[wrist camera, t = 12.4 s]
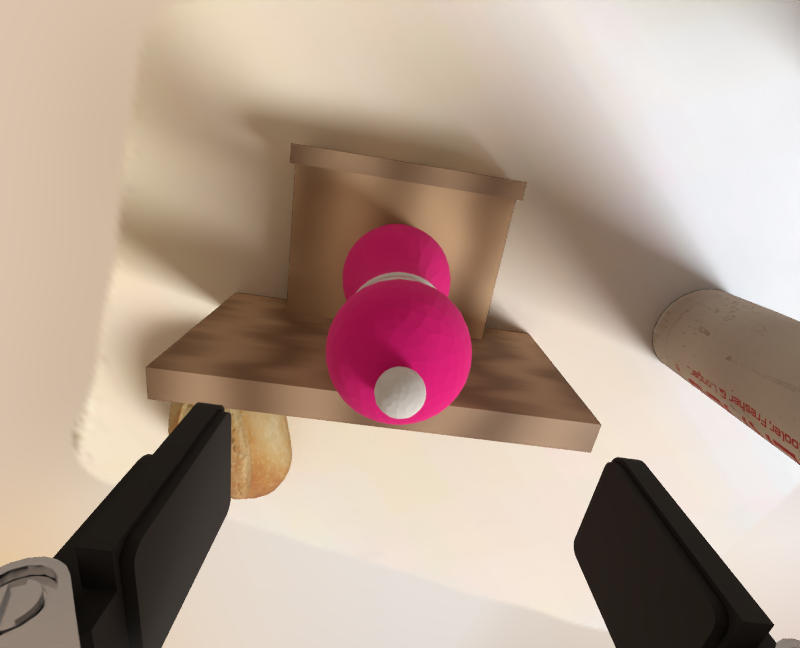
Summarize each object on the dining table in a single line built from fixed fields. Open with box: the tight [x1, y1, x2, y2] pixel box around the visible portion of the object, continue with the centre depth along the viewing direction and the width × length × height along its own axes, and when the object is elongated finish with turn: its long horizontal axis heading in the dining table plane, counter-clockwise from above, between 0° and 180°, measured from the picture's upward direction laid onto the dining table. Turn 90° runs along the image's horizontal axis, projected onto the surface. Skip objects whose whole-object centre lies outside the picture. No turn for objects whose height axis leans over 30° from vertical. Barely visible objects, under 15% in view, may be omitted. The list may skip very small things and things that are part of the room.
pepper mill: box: [326, 224, 472, 425], centre depth 23 cm, size 7×7×20 cm
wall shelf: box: [146, 143, 601, 453], centre depth 28 cm, size 26×14×14 cm, turn 81°
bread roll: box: [168, 402, 292, 499], centre depth 36 cm, size 10×15×8 cm, turn 8°
